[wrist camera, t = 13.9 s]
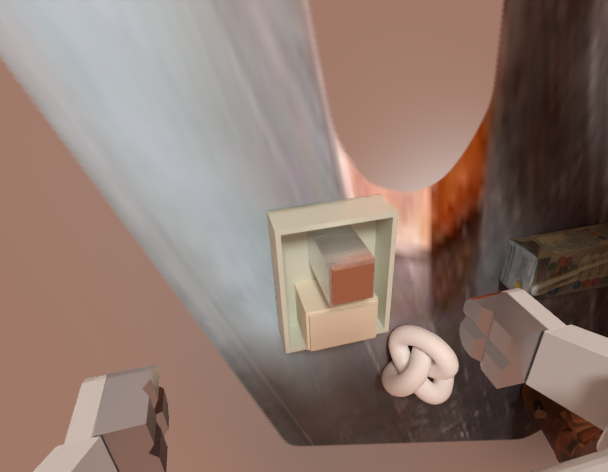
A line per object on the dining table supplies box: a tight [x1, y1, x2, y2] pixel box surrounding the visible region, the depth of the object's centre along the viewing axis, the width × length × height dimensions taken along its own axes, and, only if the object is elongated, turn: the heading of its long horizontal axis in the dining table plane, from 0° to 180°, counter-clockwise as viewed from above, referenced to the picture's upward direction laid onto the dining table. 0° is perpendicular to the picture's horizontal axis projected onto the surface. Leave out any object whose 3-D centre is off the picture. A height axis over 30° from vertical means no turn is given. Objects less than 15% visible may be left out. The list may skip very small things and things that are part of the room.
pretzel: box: [382, 325, 458, 405], centre depth 59 cm, size 11×12×9 cm
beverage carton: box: [499, 223, 608, 300], centre depth 59 cm, size 8×19×7 cm, turn 92°
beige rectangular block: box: [294, 279, 378, 352], centre depth 51 cm, size 9×6×7 cm, turn 93°
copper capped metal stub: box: [307, 224, 375, 306], centre depth 46 cm, size 5×5×9 cm
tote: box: [267, 194, 398, 354], centre depth 50 cm, size 14×18×5 cm
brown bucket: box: [521, 382, 604, 463], centre depth 71 cm, size 18×20×18 cm
